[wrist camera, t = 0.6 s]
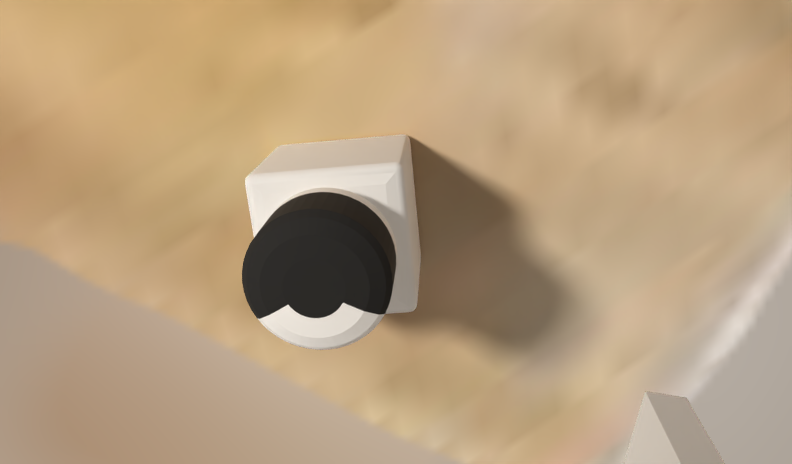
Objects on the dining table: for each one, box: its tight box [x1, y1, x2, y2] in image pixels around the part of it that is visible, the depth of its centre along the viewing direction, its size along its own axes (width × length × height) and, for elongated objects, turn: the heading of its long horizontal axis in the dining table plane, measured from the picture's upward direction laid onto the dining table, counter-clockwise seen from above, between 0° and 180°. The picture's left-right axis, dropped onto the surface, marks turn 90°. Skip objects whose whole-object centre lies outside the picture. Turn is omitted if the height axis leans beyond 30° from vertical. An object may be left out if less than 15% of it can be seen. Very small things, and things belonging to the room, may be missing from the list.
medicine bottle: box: [242, 134, 421, 350], centre depth 34 cm, size 7×7×12 cm
